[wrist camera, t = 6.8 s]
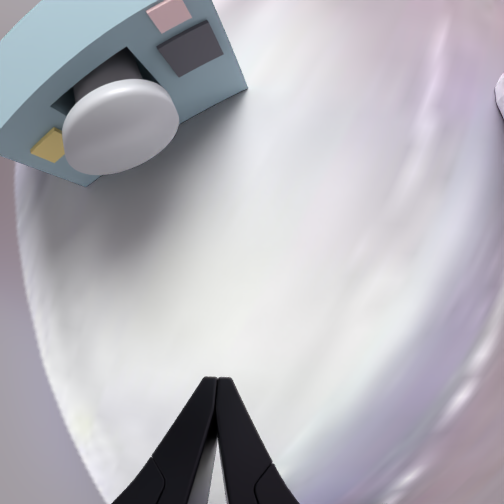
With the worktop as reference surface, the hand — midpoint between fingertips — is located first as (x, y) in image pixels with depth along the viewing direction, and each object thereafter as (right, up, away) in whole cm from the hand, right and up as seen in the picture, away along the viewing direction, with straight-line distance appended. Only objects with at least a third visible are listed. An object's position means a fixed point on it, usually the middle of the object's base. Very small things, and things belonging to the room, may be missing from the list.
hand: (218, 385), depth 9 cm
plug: (-8, +16, +9) cm, 19 cm away
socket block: (-8, +17, +12) cm, 22 cm away
